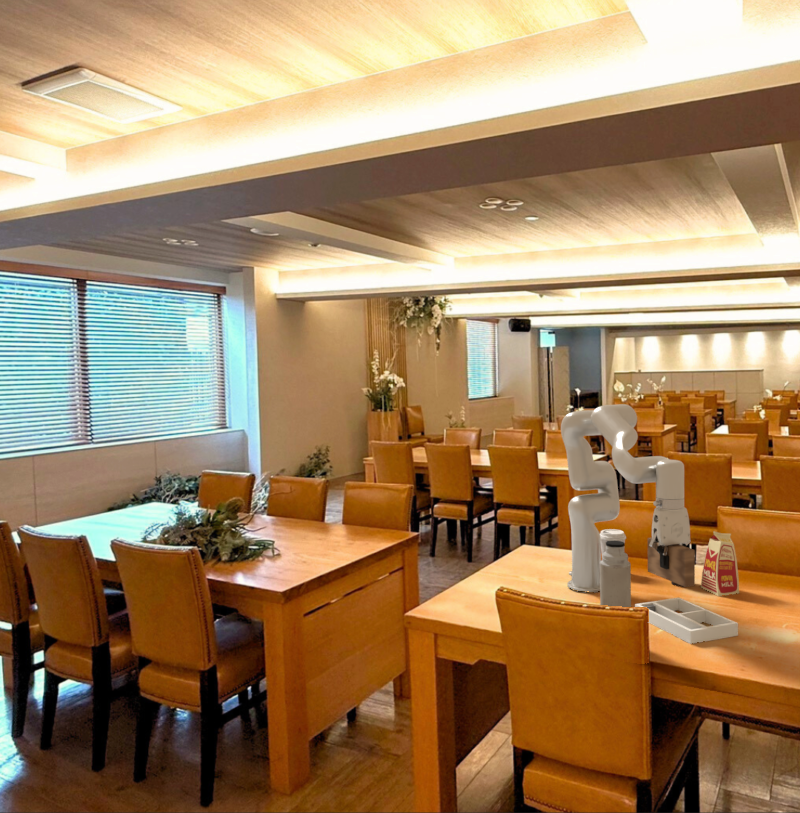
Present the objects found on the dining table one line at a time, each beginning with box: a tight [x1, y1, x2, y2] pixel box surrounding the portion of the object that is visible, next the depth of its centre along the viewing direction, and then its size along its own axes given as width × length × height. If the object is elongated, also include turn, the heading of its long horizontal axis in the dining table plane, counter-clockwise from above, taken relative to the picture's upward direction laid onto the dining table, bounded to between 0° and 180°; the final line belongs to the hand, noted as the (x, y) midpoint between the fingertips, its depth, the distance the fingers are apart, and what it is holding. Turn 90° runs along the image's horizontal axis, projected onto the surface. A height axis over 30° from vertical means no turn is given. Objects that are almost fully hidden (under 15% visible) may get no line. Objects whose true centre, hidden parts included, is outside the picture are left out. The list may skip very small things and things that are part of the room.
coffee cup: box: [599, 528, 627, 560], centre depth 264 cm, size 10×10×15 cm
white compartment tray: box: [634, 596, 739, 645], centre depth 212 cm, size 24×16×4 cm, turn 19°
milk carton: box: [700, 530, 740, 597], centre depth 241 cm, size 9×9×20 cm
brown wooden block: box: [647, 537, 696, 588], centre depth 209 cm, size 16×3×10 cm, turn 19°
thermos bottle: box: [599, 541, 632, 608], centre depth 199 cm, size 8×8×28 cm
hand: (670, 566), depth 209 cm, fingers closed on brown wooden block, 3 cm apart
